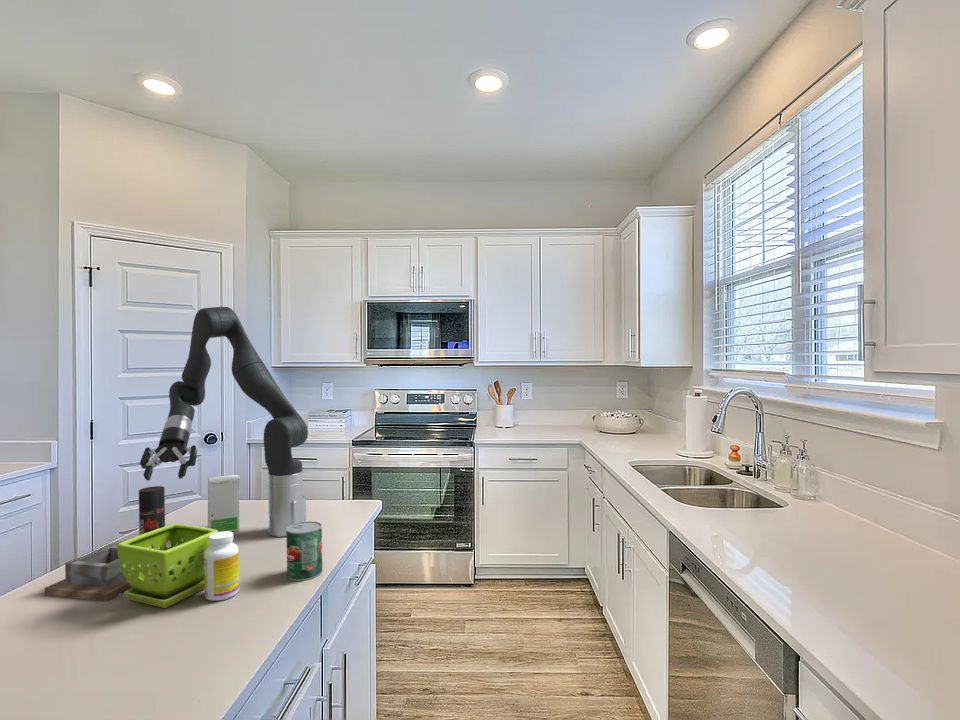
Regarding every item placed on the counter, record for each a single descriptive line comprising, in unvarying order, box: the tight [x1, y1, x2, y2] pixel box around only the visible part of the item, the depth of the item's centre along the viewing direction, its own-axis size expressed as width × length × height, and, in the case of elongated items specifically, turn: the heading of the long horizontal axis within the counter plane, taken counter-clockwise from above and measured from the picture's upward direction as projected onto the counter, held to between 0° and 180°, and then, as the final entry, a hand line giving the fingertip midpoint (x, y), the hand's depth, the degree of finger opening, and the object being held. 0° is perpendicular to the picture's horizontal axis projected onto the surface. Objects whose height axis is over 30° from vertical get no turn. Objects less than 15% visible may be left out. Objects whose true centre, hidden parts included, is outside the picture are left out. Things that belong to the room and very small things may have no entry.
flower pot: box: [117, 523, 218, 609], centre depth 109 cm, size 14×14×13 cm
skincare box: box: [207, 474, 241, 532], centre depth 150 cm, size 8×7×16 cm
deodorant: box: [138, 485, 166, 536], centre depth 139 cm, size 6×6×15 cm
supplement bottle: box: [204, 531, 240, 602], centre depth 109 cm, size 7×7×13 cm
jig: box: [44, 544, 171, 602], centre depth 119 cm, size 16×22×6 cm
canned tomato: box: [285, 520, 324, 582], centre depth 119 cm, size 8×8×11 cm
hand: (163, 478), depth 148 cm, fingers open, 8 cm apart
